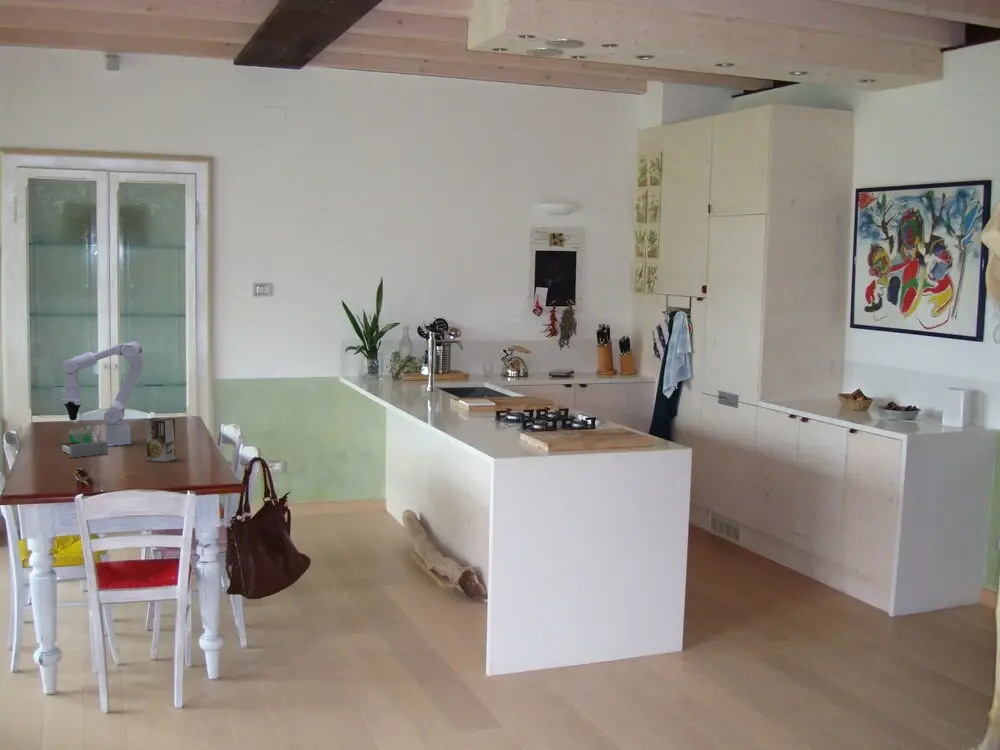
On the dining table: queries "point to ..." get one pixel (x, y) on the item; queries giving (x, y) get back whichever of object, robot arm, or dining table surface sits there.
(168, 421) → the coffee box
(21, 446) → the dining table surface
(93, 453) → the grey flat tray
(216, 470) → the dining table surface
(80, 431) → the food container
